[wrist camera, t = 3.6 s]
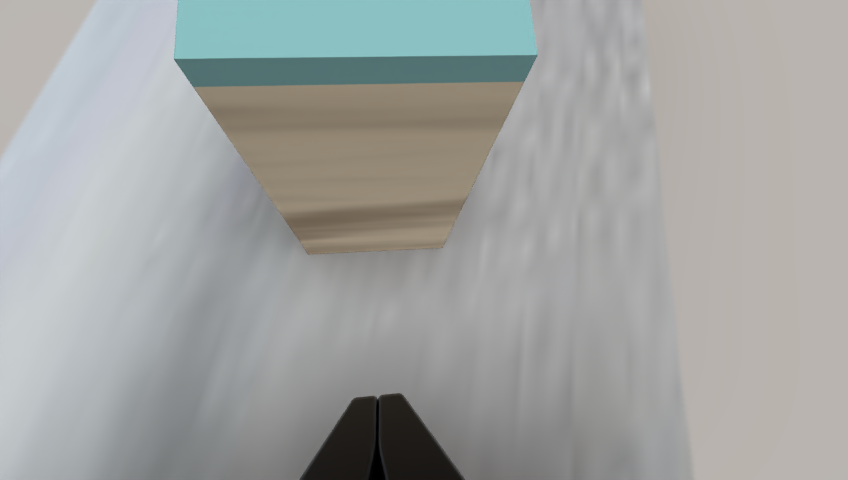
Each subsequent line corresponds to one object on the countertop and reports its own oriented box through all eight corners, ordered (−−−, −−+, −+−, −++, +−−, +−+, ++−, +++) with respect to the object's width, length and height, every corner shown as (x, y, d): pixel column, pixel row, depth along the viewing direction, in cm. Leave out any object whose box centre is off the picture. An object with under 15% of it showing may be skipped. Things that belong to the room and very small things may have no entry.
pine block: (442, 247, 22) (537, 54, 8) (308, 254, 21) (173, 58, 8) (432, 128, 23) (499, -202, 10) (307, 131, 23) (192, -215, 9)
